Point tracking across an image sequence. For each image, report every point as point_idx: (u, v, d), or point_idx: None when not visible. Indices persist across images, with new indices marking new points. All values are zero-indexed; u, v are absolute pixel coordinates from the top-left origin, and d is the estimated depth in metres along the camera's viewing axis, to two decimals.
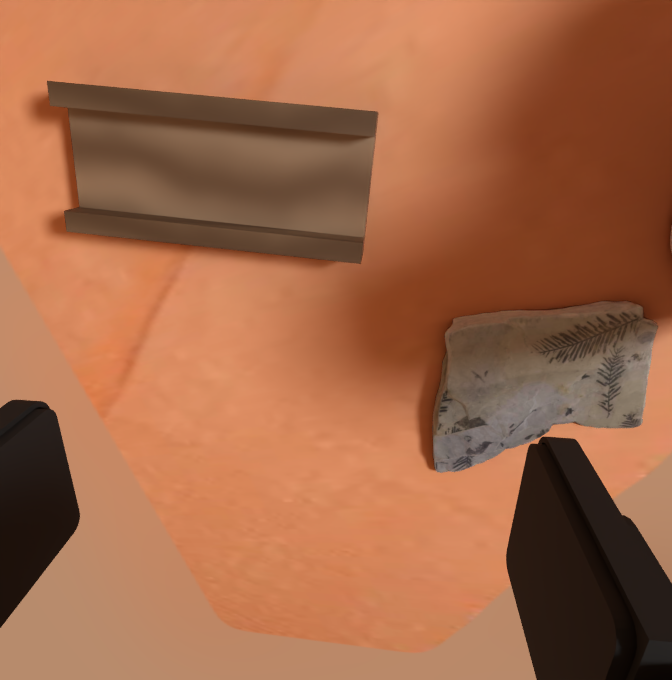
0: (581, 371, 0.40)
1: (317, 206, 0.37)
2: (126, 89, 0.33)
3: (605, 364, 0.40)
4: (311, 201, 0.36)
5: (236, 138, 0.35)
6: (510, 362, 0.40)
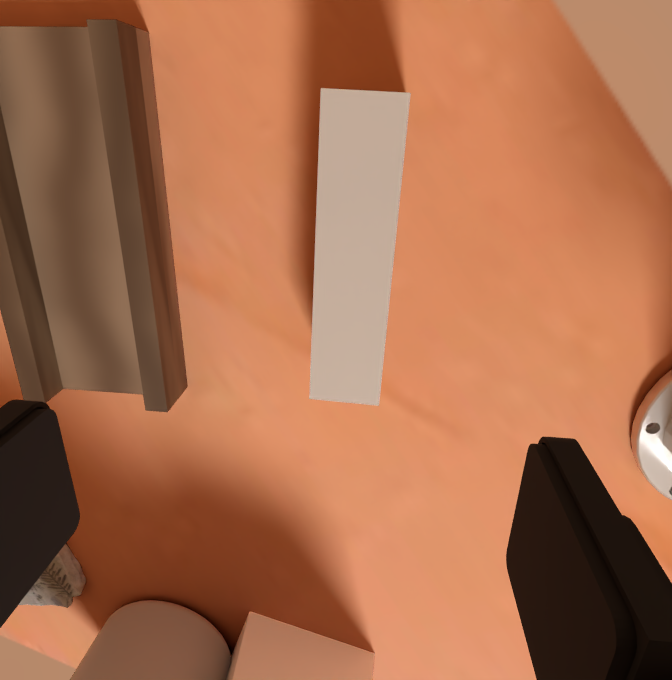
0: None
1: (78, 342, 0.34)
2: (130, 141, 0.26)
3: None
4: (82, 336, 0.33)
5: None
6: None
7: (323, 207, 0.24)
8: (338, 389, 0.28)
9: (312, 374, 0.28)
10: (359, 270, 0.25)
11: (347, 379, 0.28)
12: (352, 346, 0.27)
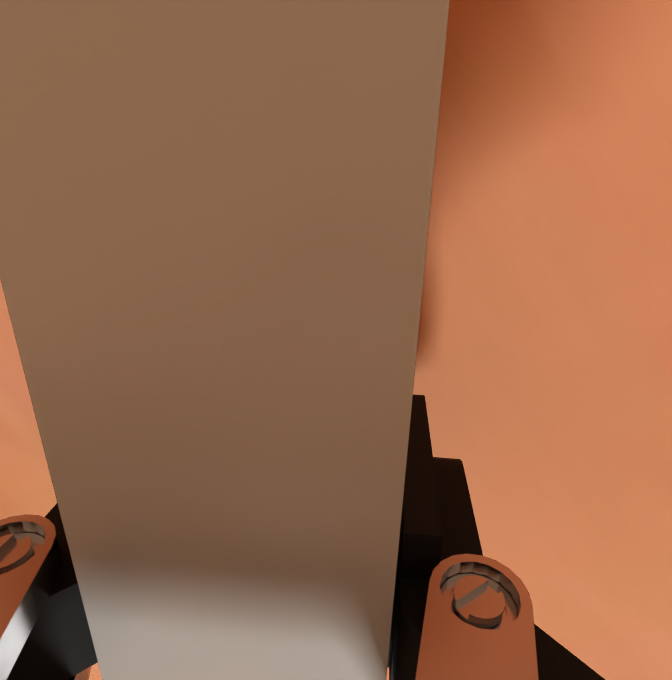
0: None
1: None
2: None
3: None
4: None
5: None
6: None
7: (80, 474, 0.06)
8: None
9: None
10: (261, 669, 0.07)
11: None
12: None
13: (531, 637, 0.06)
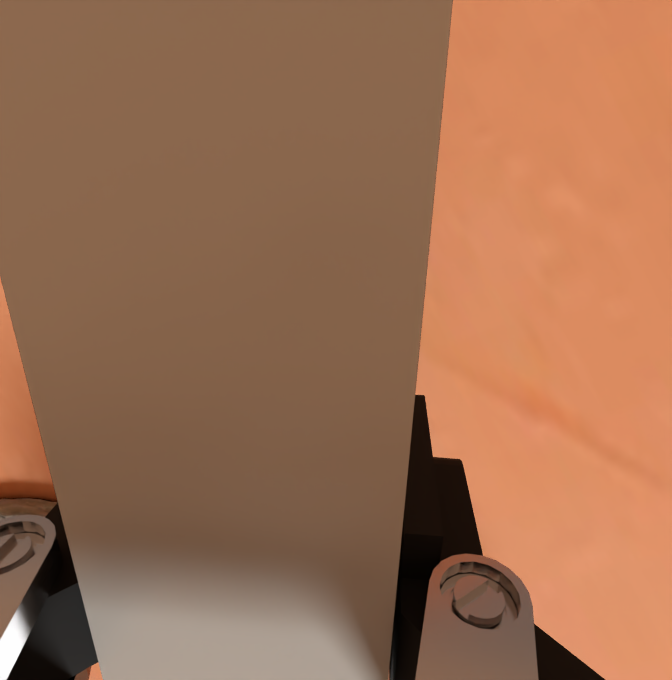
0: None
1: None
2: None
3: None
4: None
5: None
6: None
7: (80, 474, 0.06)
8: None
9: None
10: (262, 669, 0.07)
11: None
12: None
13: (532, 637, 0.06)
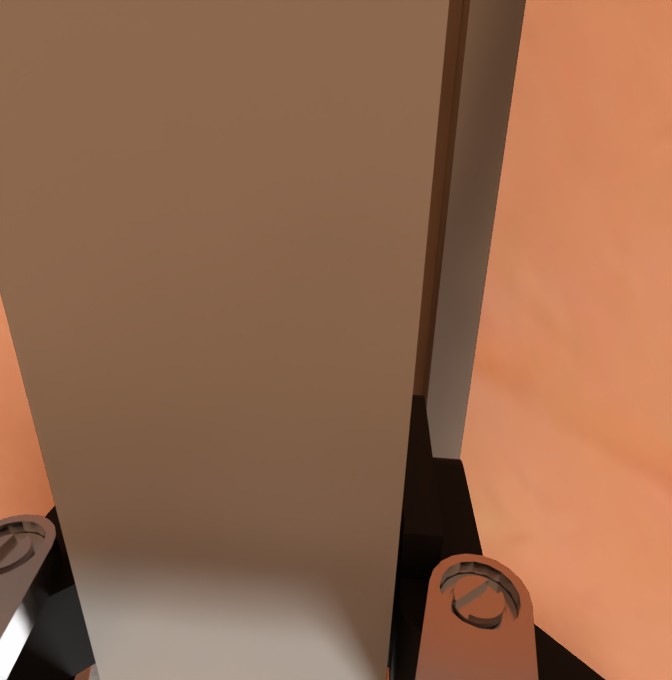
0: None
1: None
2: (500, 162, 0.15)
3: None
4: None
5: None
6: None
7: (77, 475, 0.06)
8: None
9: None
10: (260, 670, 0.07)
11: None
12: None
13: (531, 636, 0.06)
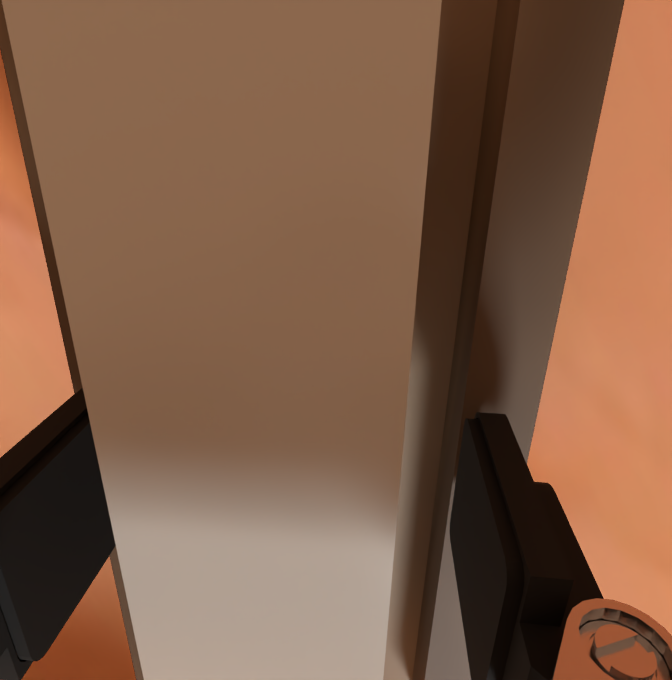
0: None
1: None
2: (580, 189, 0.08)
3: None
4: None
5: (403, 444, 0.13)
6: None
7: (118, 434, 0.06)
8: None
9: None
10: (276, 613, 0.07)
11: None
12: None
13: None
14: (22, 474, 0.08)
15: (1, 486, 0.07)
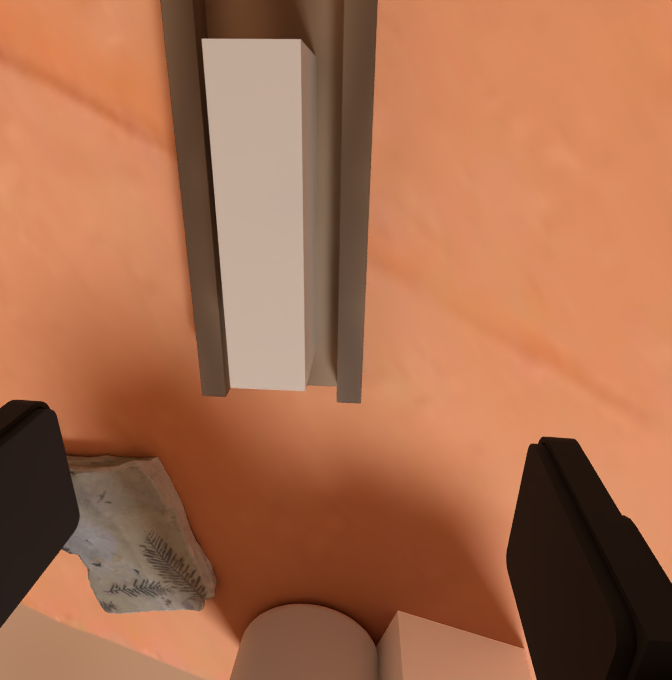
0: (140, 568, 0.42)
1: None
2: (371, 109, 0.24)
3: (153, 583, 0.42)
4: None
5: (324, 238, 0.29)
6: (128, 517, 0.39)
7: (220, 175, 0.22)
8: (260, 375, 0.26)
9: (230, 361, 0.26)
10: (267, 244, 0.23)
11: (269, 364, 0.26)
12: (270, 328, 0.25)
13: None
14: None
15: None
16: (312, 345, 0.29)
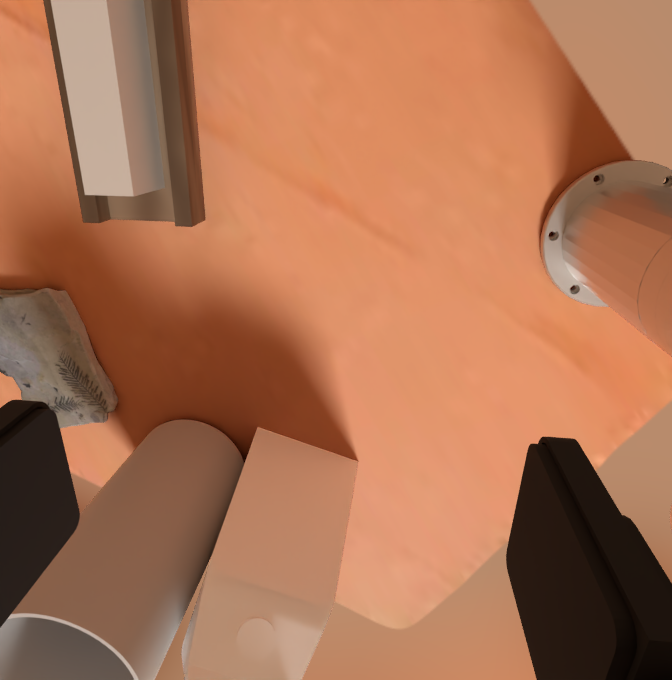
0: (58, 386, 0.55)
1: None
2: (170, 2, 0.37)
3: (68, 399, 0.55)
4: None
5: (160, 104, 0.42)
6: (44, 338, 0.52)
7: (62, 37, 0.35)
8: (103, 185, 0.39)
9: (82, 173, 0.39)
10: (96, 85, 0.36)
11: (107, 176, 0.39)
12: (105, 148, 0.38)
13: None
14: None
15: None
16: (151, 178, 0.42)
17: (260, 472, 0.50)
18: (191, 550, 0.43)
